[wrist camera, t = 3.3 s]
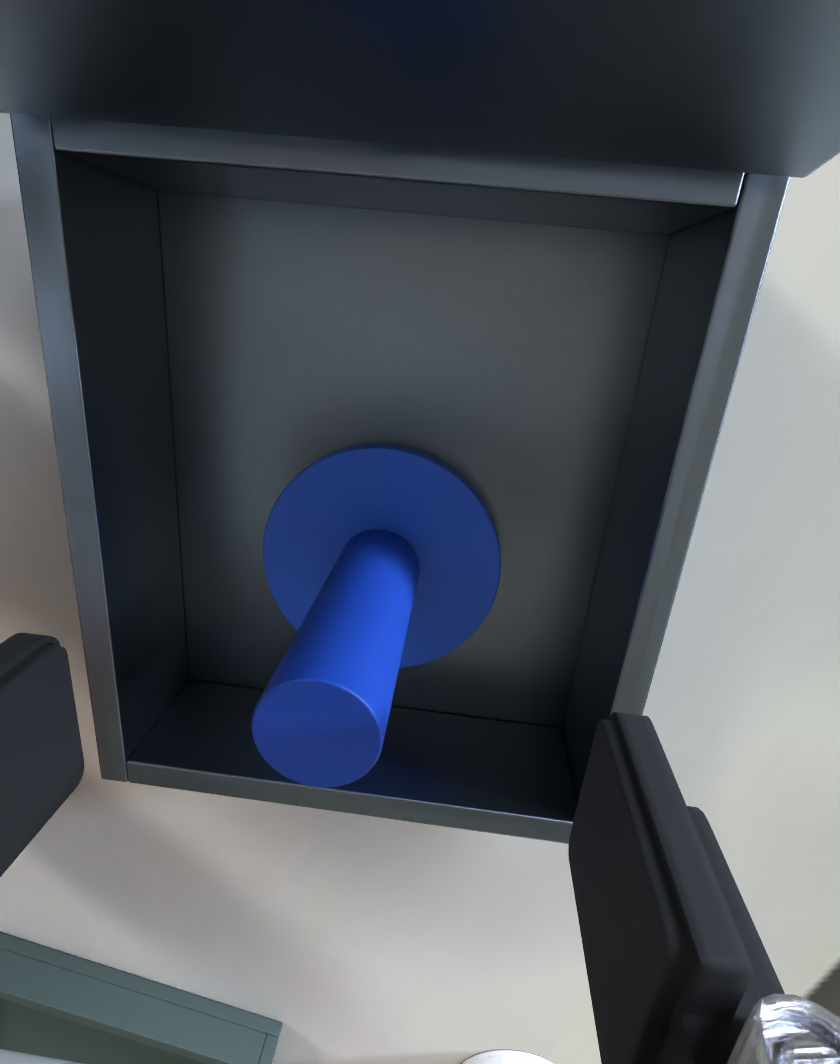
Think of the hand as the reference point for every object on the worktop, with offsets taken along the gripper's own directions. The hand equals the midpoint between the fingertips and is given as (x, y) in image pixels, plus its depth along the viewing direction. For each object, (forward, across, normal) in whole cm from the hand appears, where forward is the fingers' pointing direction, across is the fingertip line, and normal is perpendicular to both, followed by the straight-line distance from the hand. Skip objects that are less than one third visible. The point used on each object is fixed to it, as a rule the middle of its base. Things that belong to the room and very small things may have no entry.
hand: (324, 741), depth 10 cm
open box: (+9, 0, -2) cm, 9 cm away
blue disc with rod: (+8, 0, 0) cm, 8 cm away
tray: (+9, +12, +30) cm, 33 cm away
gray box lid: (-5, 0, -11) cm, 12 cm away
